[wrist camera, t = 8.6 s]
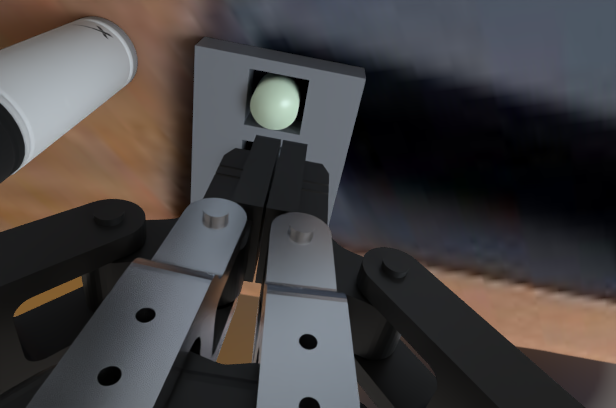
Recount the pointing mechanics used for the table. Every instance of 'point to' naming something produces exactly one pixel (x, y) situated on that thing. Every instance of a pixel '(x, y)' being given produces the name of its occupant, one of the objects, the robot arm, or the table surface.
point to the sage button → (275, 101)
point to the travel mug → (58, 84)
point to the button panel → (241, 124)
